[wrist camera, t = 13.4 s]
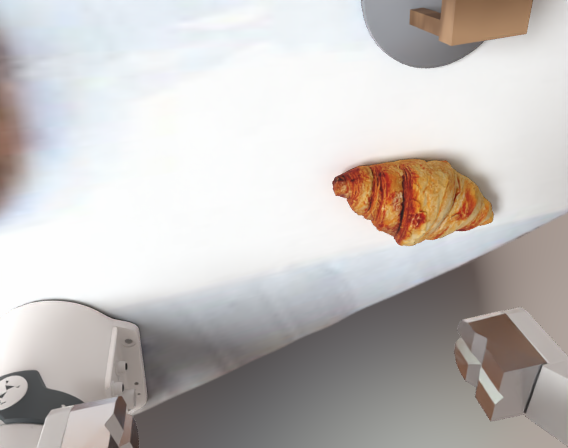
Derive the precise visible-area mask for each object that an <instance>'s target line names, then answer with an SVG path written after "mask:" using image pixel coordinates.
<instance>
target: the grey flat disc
mask: <svg viewBox="0 0 568 448" xmlns="http://www.w3.org/2000/svg"><path fill="white" fill-rule="evenodd" d="M361 6H362V12H363V17H364V20H365V23H366V26H367V29H368V31H369V33H370V35H371V37H372V38H373V40H374V41H375V43H376V44H377V45H378V46H379V47H380V48H381V50H382V51H384V52H385V53H386V54H387V55H389V56H390V57H392V58H393V59H395V60H397V61H398V62H400V63H402V64H405V65H408V66H412V67H416V68H435V67H440V66H444V65H447V64H450V63H452V62H455V61H457V60H459V59H461V58H463V57H464V56H466V55H467V54H469V53H470V52H472V51H473V50H474V49H476V48H477V47H478V46H479V45H480V44H481V43H482V42H483V41H479V42H473V43H466V44H460V45H454V46H450V45H448V44H445V43H443V42H441V41H439V36H436V35H434V34H432V33H429V32H427V31H424V30H422V29H419V28H417V27H415V26H412V25H410V24H409V21H410V9H417V8H426V9H429V10H433V11H436V12H439V13H441V6H442V0H361Z"/></svg>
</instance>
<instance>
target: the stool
mask: <svg viewBox="0 0 568 448" xmlns="http://www.w3.org/2000/svg"><path fill="white" fill-rule="evenodd" d="M532 2H533V0H442V6H441V13H439V12H436V11H433V10H429V9H426V8H417V9H410V21H409V24H410V25H412V26H415V27H417V28H419V29H422V30H424V31H427V32H429V33H432V34H434V35H436V36H439V41H441V42H443V43H445V44H448V45H450V46H454V45H460V44H466V43H473V42H479V41H485V40H491V39H497V38H504V37H510V36H516V35H522V34H527V28H528V23H529V18H530V13H531V8H532Z"/></svg>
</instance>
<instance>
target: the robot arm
mask: <svg viewBox="0 0 568 448" xmlns="http://www.w3.org/2000/svg"><path fill="white" fill-rule="evenodd" d="M457 331H458V333H459V334H460V336H461V337H460V339H459V340H458V341H457V342H456V343H455V349H454V354H455V360H456V364H457V366H458V369H459V371H460V373H461V375H462V376H463V378H464V380H465V381H466V382H468V383H470V384H472V385H473V386H475V387H476V395H475V397H476V399H477V400H478V402H479V404H480V405H481V407H482V409H483V410H484V412H485V413H486V415H487V416H488V418H489V420H490V421H495V420H500V419H505V418H510V417H514V416H519V415H524V414H526V415H525V417H527V418H528V419H530V420H531V421H532V422H534V423H535V424H537V425H538V426H539V427H541V428H542V429H544V430H545V431H546V432H548V433H549V434H551V435H552V436H554V437H555V438H556V439H558V440H559V441H560V442H562V443H563V444H565V445H566V446H568V355H567V354H565V352H564V351H563V350H562V349H561V348H560V347H559V346H558V344H556V342H555V341H554V340H553V339H552V338H551V337H550V336H549V335H548V334H547V332H546V331H545V330H544V329H543V328H542V327H541V326H540V325H539V324H538V323H537V321H536V320H535V319H534V318H533V317H532V316H531V315H530V314H529V313H528V312H527V311H526V310H525V309H523V308H522V307H518V308H513V309H509V310H504V311H500V312H493V313H489V314H485V315H481V316H476V317H472V318H468V319H464V320H461V321H460V322H459V324H458V330H457ZM146 402H147V387H146V379H145V372H144V364H143V356H142V349H141V341H140V333H139V328H138V327H137V326H136V325H135V324H133V323H130V322H126V321H121V320H116V319H112V318H110V317H108V316H106V315H104V314H102V313H100V312H99V311H97V310H95V309H92V308H90V307H87V306H84V305H81V304H77V303H72V302H66V301H40V302H34V303H29V304H26V305H23V306H20V307H17V308H15V309H13V310H11V311H10V312H8V313H7V314H5V315H4V316H3V317H2V318H1V319H0V448H139V435H138V428H137V424H136V421H135V419H134V417H133V416H132V415H130V414H131V413H133V412H135V411H137V410H139V409H140V408H142V407H143V406H144V405H145V404H146Z"/></svg>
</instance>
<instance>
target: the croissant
mask: <svg viewBox="0 0 568 448" xmlns="http://www.w3.org/2000/svg"><path fill="white" fill-rule="evenodd" d="M332 184H333V190H334V192H335V195H336V196H340V197H344V198H347V201H348V203H349V205H350V207H351V208H352V210H353V211H354V212H355V213H357V214H358V215H362V216H364V218H365V219H367V220H371V221H372V223H373V225H374V226H375V227H376V228H377V229H378V230H379V231H383V232H385V233H387V234H390V235H392V236H394V239H395V240H396V242H397V243H398V244H399V245H401V246H403V245H405V246H413V245H415V244H417V243H420V242H422V241H423V240H425V239H427V240H434V239H437V238H442V237H444V236H446V235H448V234H450V233H453V232H454V231H467V230H470V229H473V228H475V227H477V226H479V225H480V226H481V225H486V224H489V223H491V222H492V221H493V216H494V214H493V211H492V206H491V203H490V202H489V201H488V200H487V199H486V198H485V197H484V196H483V195H482V193H481V192H480V190H479V188H478V186H477V185H476V184H475V183H474V182H473V181H472V180H470V179H469V178H468V177H466V176H464V175H462V174H460V173H459V172H457V171H456V170H455V169H453V168H452V167H451V164H449V163H448V162H447V161H446V160H445V161H437V160H433V161H428V162H426V161H424V160H420V159H406V160H398V161H395V162H386V163H382V164H375V165H370V166H358V167H356V168H354V169H351V170H349V171H347V172H345V173H343V174H341V175H339V176H337V177H335V179H334V181H333V182H332Z"/></svg>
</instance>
